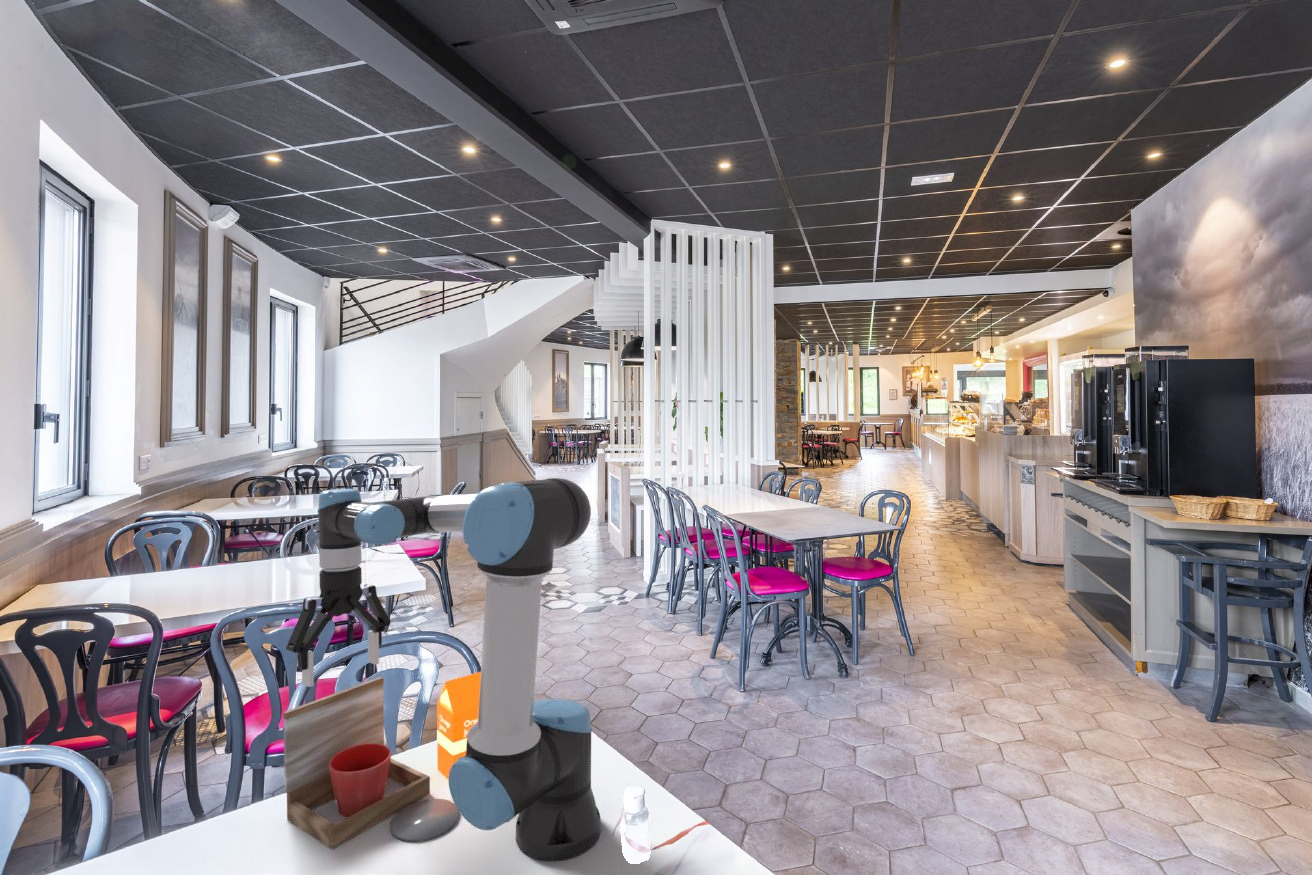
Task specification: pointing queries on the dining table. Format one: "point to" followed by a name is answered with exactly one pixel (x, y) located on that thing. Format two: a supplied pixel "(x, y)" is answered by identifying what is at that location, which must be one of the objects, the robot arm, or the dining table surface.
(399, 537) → the robot arm
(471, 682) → the orange juice
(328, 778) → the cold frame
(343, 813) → the flower pot
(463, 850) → the dining table surface
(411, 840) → the slate saucer
